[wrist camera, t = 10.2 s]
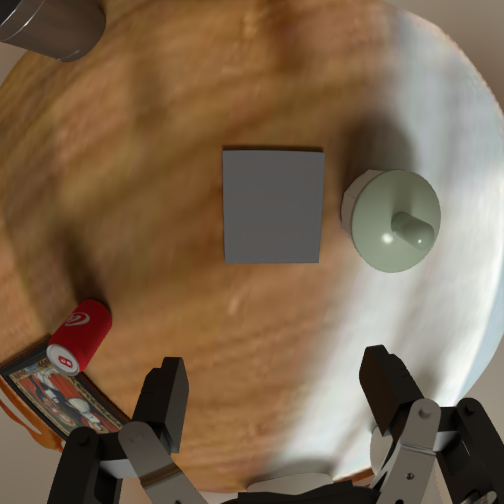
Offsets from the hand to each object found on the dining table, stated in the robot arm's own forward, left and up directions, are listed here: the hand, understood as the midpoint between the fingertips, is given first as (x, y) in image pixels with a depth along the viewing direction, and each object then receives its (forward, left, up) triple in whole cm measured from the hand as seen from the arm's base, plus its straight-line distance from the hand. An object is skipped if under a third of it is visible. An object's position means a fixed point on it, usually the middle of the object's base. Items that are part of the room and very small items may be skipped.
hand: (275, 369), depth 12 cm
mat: (-2, +2, -26) cm, 26 cm away
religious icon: (+43, -43, -26) cm, 66 cm away
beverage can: (+14, -25, -26) cm, 39 cm away
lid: (-2, +16, -20) cm, 26 cm away
